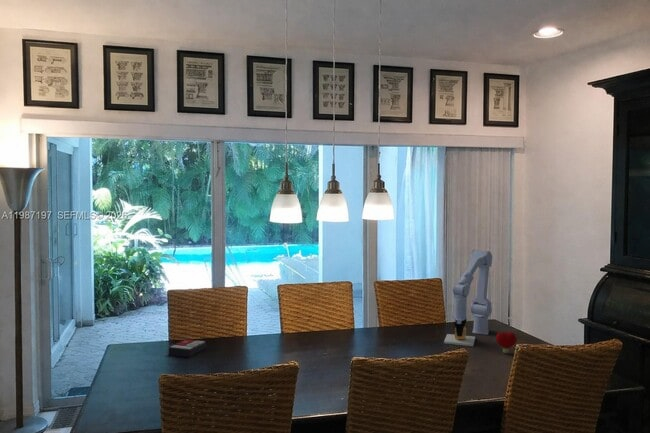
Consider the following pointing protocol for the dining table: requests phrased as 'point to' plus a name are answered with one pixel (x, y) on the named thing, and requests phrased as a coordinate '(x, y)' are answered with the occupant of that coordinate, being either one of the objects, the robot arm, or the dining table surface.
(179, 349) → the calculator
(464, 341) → the plate
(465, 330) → the tilted mustard cube
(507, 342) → the dark red rounded lump
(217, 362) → the dining table surface
